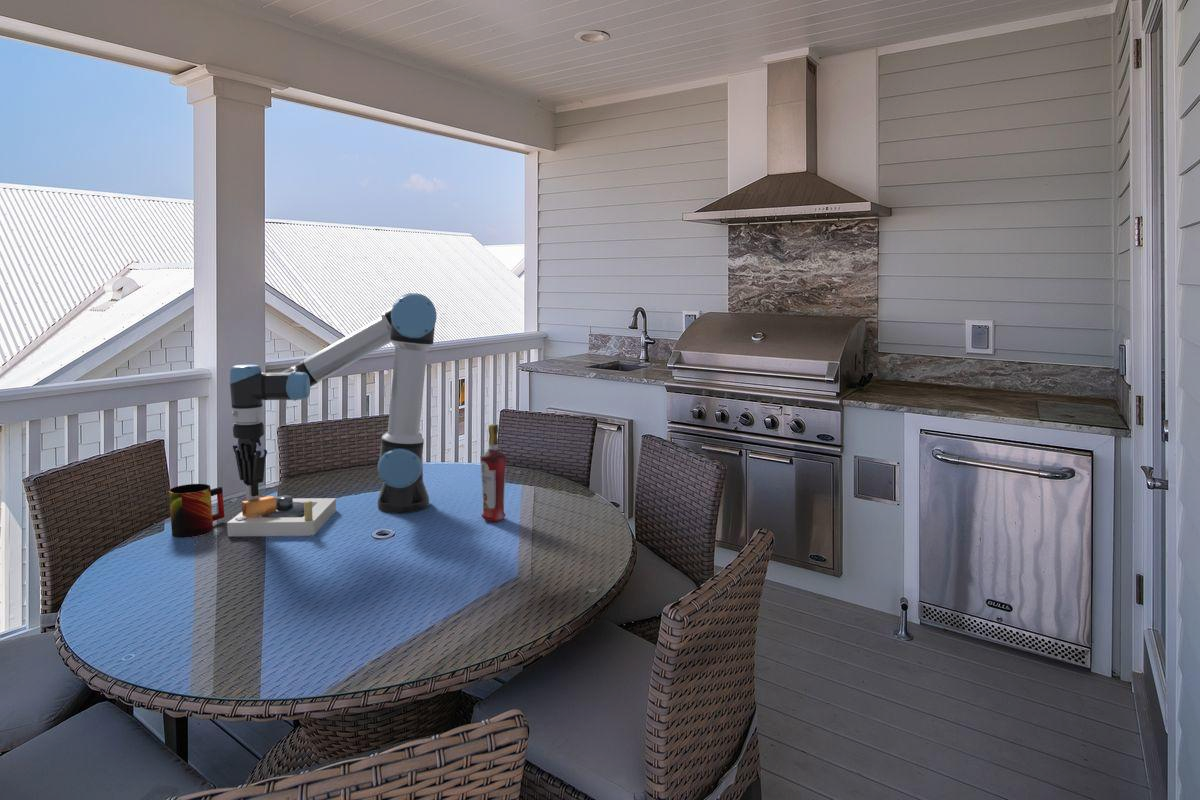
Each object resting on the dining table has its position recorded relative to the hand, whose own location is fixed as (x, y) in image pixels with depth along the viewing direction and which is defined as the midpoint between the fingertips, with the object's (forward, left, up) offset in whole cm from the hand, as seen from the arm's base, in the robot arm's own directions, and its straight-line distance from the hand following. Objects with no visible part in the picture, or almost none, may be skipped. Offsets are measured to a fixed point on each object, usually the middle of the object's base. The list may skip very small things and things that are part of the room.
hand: (253, 506), depth 196 cm
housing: (-7, -3, -6) cm, 10 cm away
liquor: (-65, -4, -6) cm, 66 cm away
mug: (+15, +1, -6) cm, 16 cm away
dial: (-5, -2, -4) cm, 7 cm away
